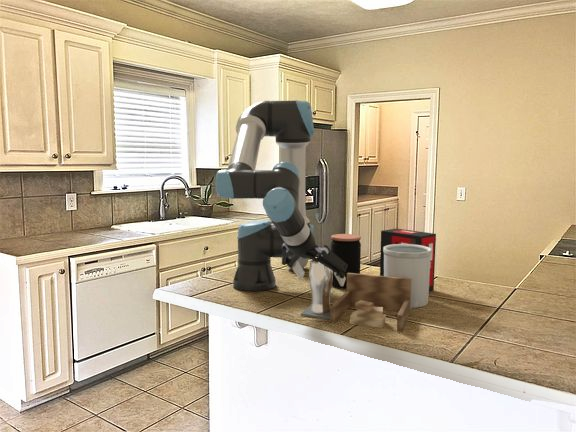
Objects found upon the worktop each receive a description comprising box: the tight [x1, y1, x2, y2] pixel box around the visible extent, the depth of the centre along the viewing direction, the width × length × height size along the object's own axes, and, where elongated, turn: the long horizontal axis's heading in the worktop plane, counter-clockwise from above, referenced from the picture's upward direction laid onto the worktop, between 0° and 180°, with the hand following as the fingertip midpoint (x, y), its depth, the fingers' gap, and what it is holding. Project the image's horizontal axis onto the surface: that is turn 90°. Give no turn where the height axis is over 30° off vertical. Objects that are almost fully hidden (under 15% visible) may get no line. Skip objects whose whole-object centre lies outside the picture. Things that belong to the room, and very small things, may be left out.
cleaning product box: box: [379, 227, 437, 293], centre depth 167 cm, size 16×9×20 cm, turn 41°
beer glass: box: [308, 259, 333, 314], centre depth 139 cm, size 7×7×15 cm
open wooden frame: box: [330, 273, 411, 333], centre depth 136 cm, size 19×19×10 cm
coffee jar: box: [330, 233, 362, 290], centre depth 170 cm, size 11×11×18 cm
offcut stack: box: [349, 300, 387, 329], centre depth 131 cm, size 9×5×6 cm, turn 69°
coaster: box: [300, 304, 331, 320], centre depth 140 cm, size 9×9×1 cm
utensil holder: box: [383, 244, 432, 309], centre depth 150 cm, size 15×15×18 cm
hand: (322, 279), depth 140 cm, fingers open, 13 cm apart
